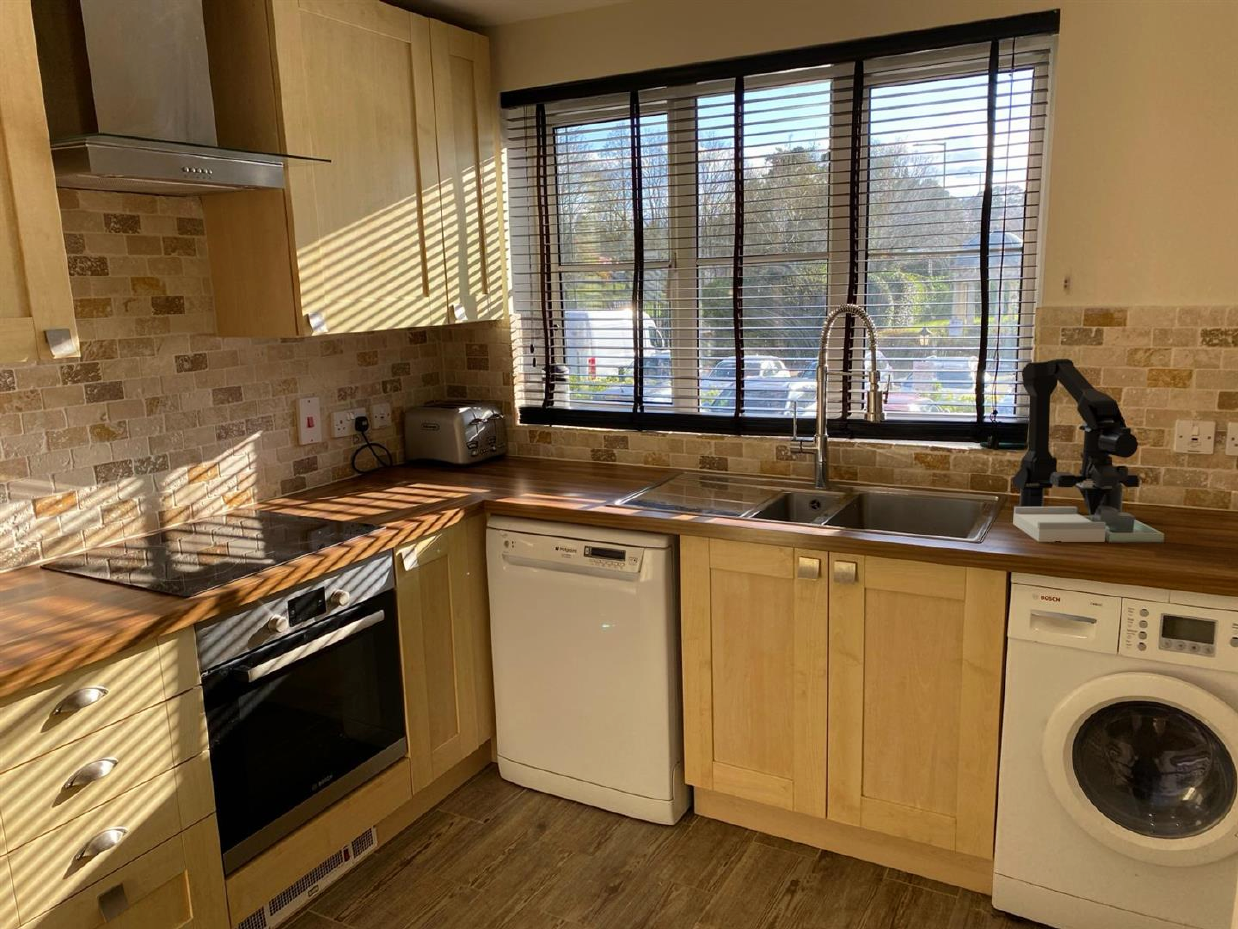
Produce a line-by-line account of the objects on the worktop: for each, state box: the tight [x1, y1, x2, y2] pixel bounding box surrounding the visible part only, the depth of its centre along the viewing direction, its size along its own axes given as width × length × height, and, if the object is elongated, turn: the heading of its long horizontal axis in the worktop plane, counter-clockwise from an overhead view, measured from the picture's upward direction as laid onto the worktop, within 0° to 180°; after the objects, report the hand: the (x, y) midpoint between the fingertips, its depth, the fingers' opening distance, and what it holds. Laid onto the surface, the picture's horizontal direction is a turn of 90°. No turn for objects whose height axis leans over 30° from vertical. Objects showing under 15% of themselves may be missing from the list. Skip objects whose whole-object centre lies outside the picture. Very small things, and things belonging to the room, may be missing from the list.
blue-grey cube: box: [1092, 506, 1119, 527], centre depth 221 cm, size 4×4×4 cm
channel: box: [1012, 506, 1106, 543], centre depth 222 cm, size 17×15×4 cm
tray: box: [1082, 515, 1165, 543], centre depth 221 cm, size 18×12×2 cm, turn 176°
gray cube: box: [1108, 511, 1136, 533], centre depth 221 cm, size 4×4×4 cm
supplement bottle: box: [1093, 483, 1124, 512], centre depth 236 cm, size 7×7×12 cm
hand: (1091, 514), depth 221 cm, fingers closed
